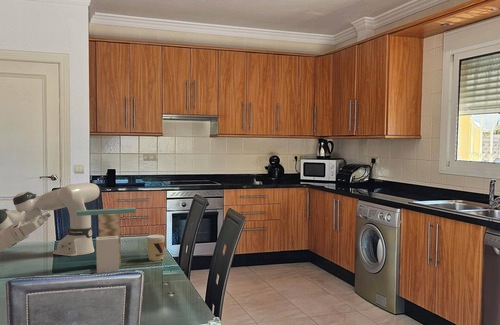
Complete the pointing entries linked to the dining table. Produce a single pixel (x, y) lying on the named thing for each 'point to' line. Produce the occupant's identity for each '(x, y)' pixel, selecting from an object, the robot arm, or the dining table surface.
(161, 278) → the dining table surface
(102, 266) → the grey slot box
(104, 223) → the birch stand
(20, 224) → the robot arm
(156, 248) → the coffee cup
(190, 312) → the dining table surface
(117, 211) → the teal board
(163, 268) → the dining table surface
